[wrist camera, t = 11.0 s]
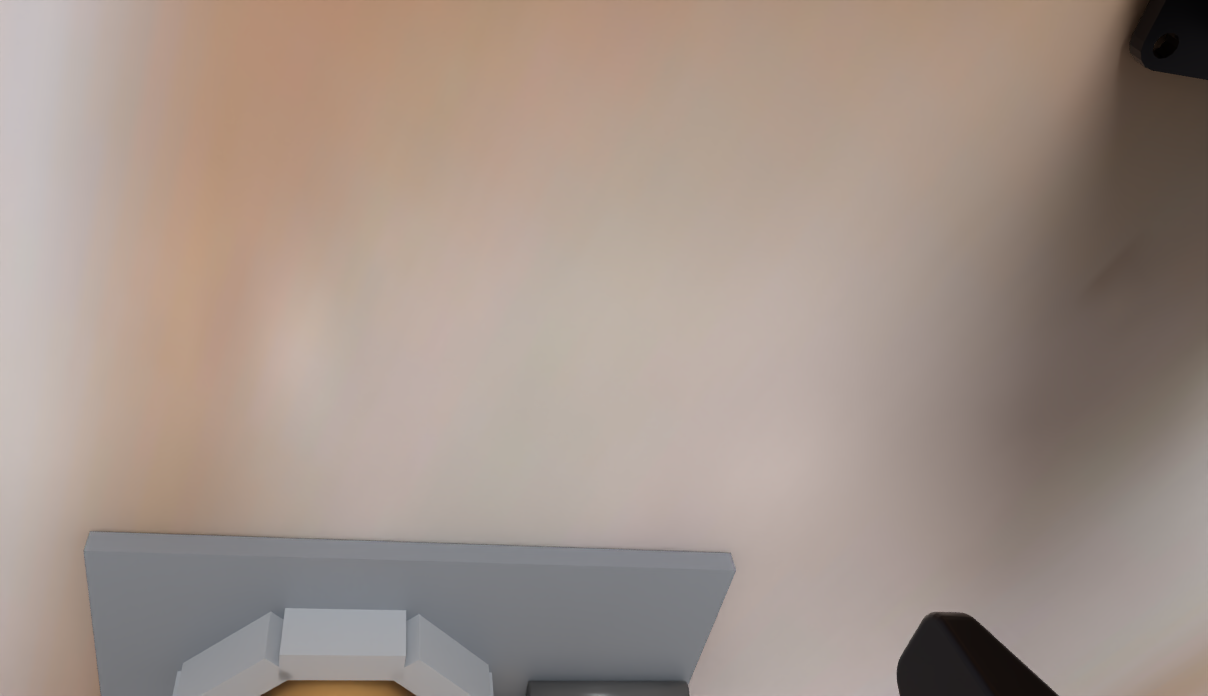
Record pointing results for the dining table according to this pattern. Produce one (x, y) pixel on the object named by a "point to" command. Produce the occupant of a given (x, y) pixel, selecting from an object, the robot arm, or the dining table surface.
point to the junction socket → (396, 615)
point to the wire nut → (339, 688)
